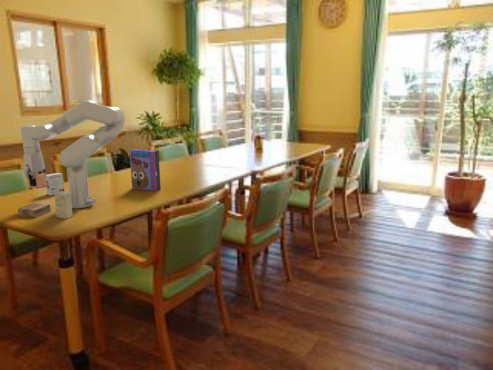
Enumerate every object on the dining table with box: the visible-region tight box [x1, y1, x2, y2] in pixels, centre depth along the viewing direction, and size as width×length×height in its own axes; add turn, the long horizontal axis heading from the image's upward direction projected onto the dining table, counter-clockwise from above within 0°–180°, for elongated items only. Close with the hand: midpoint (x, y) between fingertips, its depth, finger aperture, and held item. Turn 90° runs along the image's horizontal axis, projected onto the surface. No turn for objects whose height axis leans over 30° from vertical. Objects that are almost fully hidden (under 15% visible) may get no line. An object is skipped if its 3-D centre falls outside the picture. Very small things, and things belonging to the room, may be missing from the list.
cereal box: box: [128, 148, 162, 192], centre depth 246 cm, size 17×5×24 cm, turn 68°
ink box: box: [45, 172, 66, 196], centre depth 238 cm, size 9×5×12 cm, turn 141°
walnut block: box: [17, 202, 52, 218], centre depth 201 cm, size 10×10×4 cm
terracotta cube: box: [26, 173, 47, 188], centre depth 209 cm, size 6×6×6 cm
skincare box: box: [54, 191, 73, 220], centre depth 194 cm, size 6×4×12 cm
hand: (37, 184), depth 210 cm, fingers closed on terracotta cube, 6 cm apart
